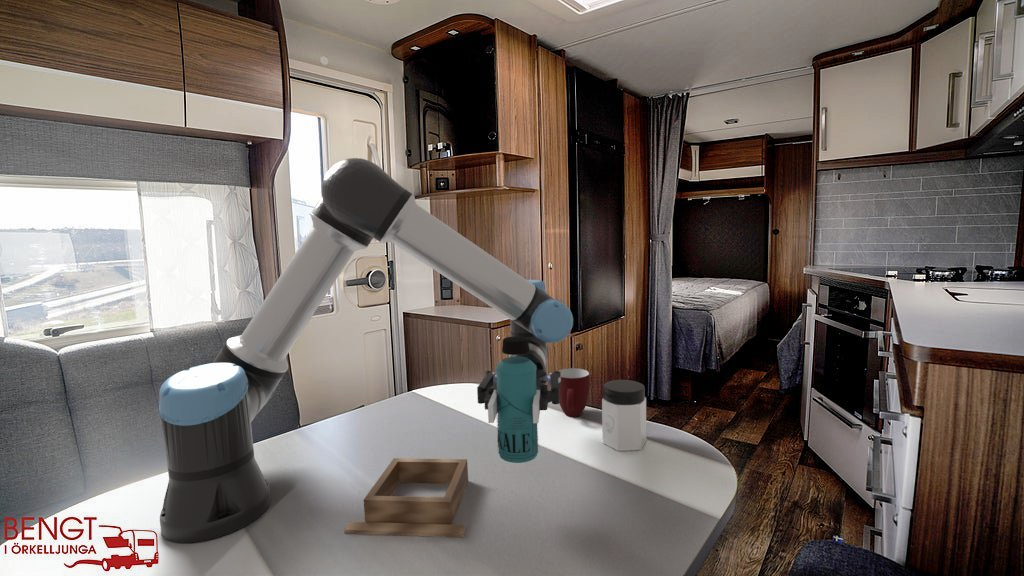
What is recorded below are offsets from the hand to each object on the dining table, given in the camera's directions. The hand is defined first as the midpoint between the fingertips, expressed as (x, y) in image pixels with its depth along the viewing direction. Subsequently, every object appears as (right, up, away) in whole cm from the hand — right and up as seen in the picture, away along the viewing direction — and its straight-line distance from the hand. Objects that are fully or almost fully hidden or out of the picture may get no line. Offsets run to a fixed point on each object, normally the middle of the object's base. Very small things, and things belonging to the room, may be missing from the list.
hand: (513, 413), depth 69 cm
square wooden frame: (-15, -17, +10) cm, 25 cm away
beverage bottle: (+1, -9, +6) cm, 11 cm away
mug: (+14, -12, +45) cm, 48 cm away
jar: (+23, -14, +30) cm, 40 cm away
